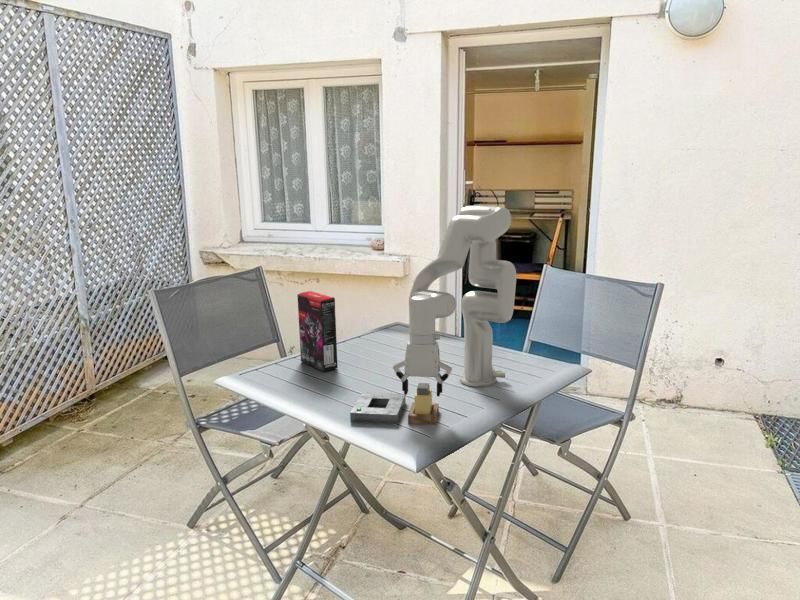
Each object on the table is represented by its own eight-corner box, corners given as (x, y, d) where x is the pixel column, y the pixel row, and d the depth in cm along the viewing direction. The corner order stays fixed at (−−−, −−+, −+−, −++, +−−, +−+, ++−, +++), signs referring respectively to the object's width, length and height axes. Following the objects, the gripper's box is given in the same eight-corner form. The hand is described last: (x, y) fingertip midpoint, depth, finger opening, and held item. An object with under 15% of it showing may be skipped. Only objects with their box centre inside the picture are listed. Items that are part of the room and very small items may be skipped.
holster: (438, 411, 183) (438, 403, 182) (435, 424, 174) (435, 416, 173) (412, 410, 184) (412, 402, 184) (408, 423, 175) (407, 415, 174)
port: (405, 402, 190) (405, 392, 189) (397, 424, 174) (397, 413, 174) (362, 401, 192) (362, 391, 191) (350, 422, 177) (350, 411, 176)
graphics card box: (299, 362, 231) (295, 293, 225) (315, 358, 235) (311, 290, 229) (323, 373, 218) (319, 300, 212) (339, 368, 222) (336, 297, 216)
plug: (432, 413, 182) (431, 382, 179) (429, 421, 176) (429, 389, 173) (417, 412, 182) (417, 381, 180) (415, 421, 176) (414, 389, 174)
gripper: (453, 335, 175) (452, 391, 179) (395, 333, 178) (395, 388, 182) (451, 342, 168) (450, 400, 172) (390, 340, 171) (391, 397, 175)
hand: (422, 394), depth 177 cm, fingers open, 9 cm apart
